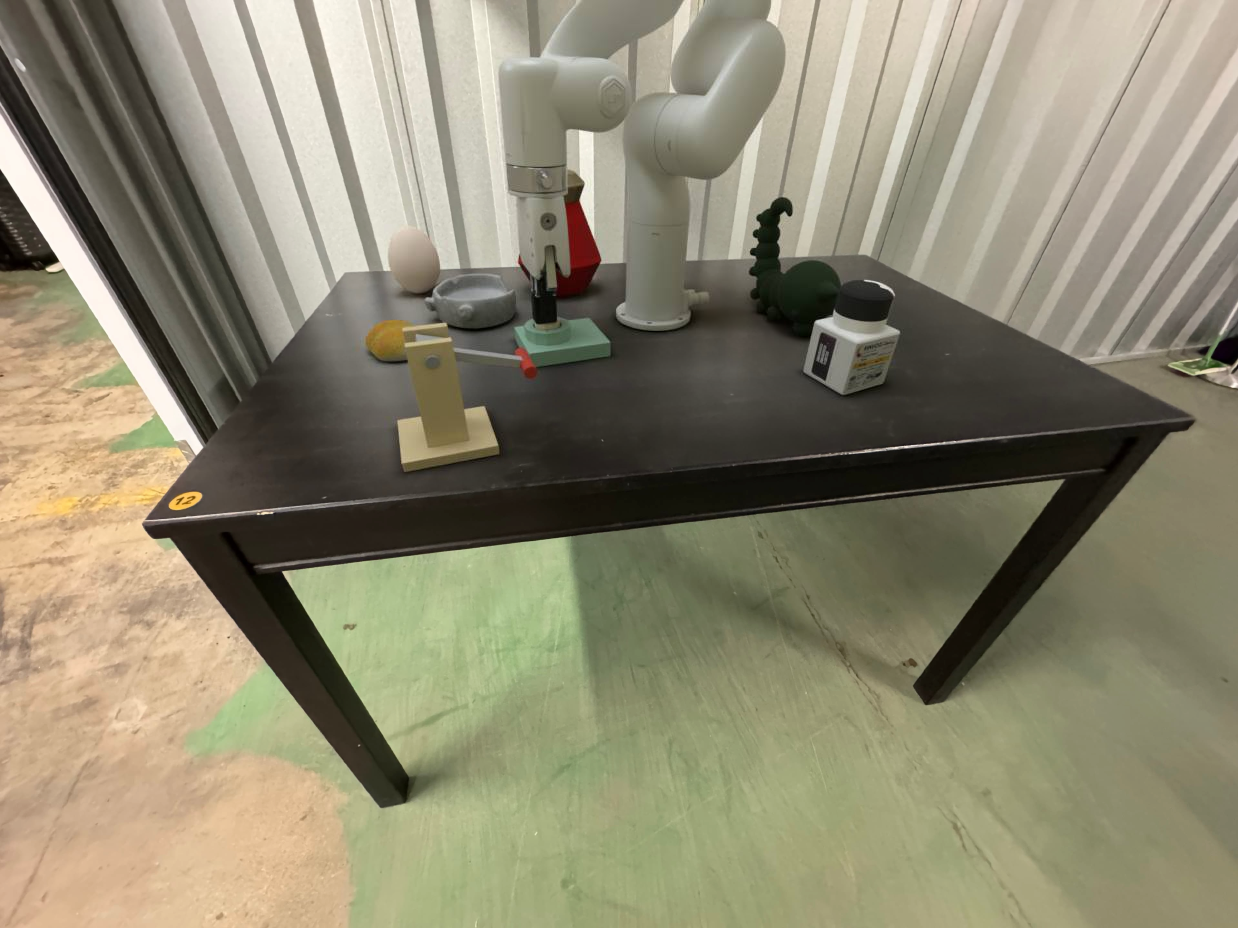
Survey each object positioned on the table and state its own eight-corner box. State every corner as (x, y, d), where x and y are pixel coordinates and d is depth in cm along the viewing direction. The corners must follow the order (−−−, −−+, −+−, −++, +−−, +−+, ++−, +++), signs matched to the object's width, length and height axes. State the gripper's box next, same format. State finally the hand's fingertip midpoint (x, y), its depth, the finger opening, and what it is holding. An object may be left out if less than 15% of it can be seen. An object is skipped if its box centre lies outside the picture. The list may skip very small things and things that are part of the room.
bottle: (587, 275, 111) (585, 163, 99) (613, 296, 101) (615, 175, 89) (511, 284, 106) (499, 167, 94) (531, 307, 96) (521, 180, 84)
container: (842, 396, 72) (871, 299, 64) (801, 372, 77) (823, 280, 70) (884, 384, 75) (916, 290, 67) (841, 362, 80) (866, 272, 73)
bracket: (485, 414, 67) (470, 312, 59) (499, 454, 60) (484, 345, 53) (399, 428, 64) (372, 323, 56) (404, 472, 57) (373, 360, 50)
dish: (489, 295, 101) (486, 267, 98) (536, 316, 93) (534, 287, 90) (417, 315, 92) (410, 285, 89) (461, 340, 84) (456, 308, 82)
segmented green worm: (730, 307, 102) (800, 352, 82) (741, 195, 92) (824, 212, 72) (776, 304, 104) (856, 346, 84) (792, 193, 94) (887, 210, 74)
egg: (454, 292, 102) (443, 226, 95) (412, 304, 97) (398, 235, 90) (427, 281, 106) (415, 218, 100) (386, 292, 101) (370, 226, 94)
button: (556, 326, 82) (555, 315, 81) (563, 335, 80) (562, 324, 79) (532, 329, 81) (531, 318, 80) (538, 338, 79) (537, 327, 78)
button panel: (589, 330, 88) (589, 306, 86) (610, 356, 81) (610, 330, 78) (515, 340, 85) (512, 315, 82) (530, 368, 77) (528, 341, 75)
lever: (524, 364, 63) (528, 344, 62) (535, 383, 59) (539, 363, 58) (412, 350, 57) (414, 328, 56) (415, 370, 54) (418, 347, 53)
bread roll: (385, 369, 76) (378, 342, 74) (361, 347, 82) (354, 322, 79) (440, 353, 81) (435, 327, 78) (414, 333, 86) (409, 309, 84)
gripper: (584, 189, 64) (585, 338, 75) (551, 170, 75) (556, 302, 86) (520, 192, 62) (531, 345, 73) (496, 172, 73) (508, 306, 84)
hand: (545, 321), depth 79 cm, fingers closed
